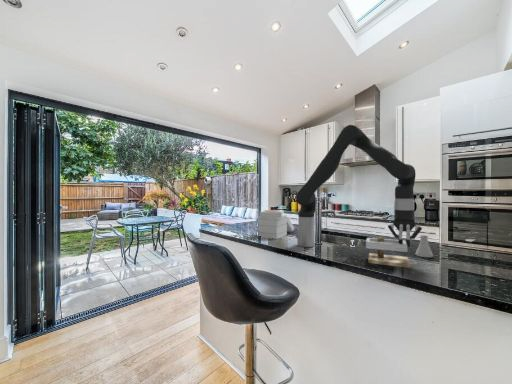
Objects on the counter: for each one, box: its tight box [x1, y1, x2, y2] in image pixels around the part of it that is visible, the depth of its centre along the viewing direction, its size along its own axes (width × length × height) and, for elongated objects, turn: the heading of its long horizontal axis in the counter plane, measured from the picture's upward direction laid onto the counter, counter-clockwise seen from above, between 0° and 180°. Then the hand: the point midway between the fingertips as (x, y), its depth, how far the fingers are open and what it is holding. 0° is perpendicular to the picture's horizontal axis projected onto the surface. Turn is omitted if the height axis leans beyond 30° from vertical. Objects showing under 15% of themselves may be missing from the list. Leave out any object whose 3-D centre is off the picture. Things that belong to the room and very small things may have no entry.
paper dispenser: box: [257, 209, 295, 240], centre depth 174 cm, size 19×30×18 cm, turn 146°
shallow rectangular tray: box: [365, 237, 408, 253], centre depth 109 cm, size 16×10×3 cm, turn 62°
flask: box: [414, 234, 434, 258], centre depth 117 cm, size 7×7×10 cm
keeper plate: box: [367, 236, 411, 269], centre depth 108 cm, size 16×12×11 cm
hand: (404, 247), depth 105 cm, fingers closed on shallow rectangular tray, 1 cm apart
